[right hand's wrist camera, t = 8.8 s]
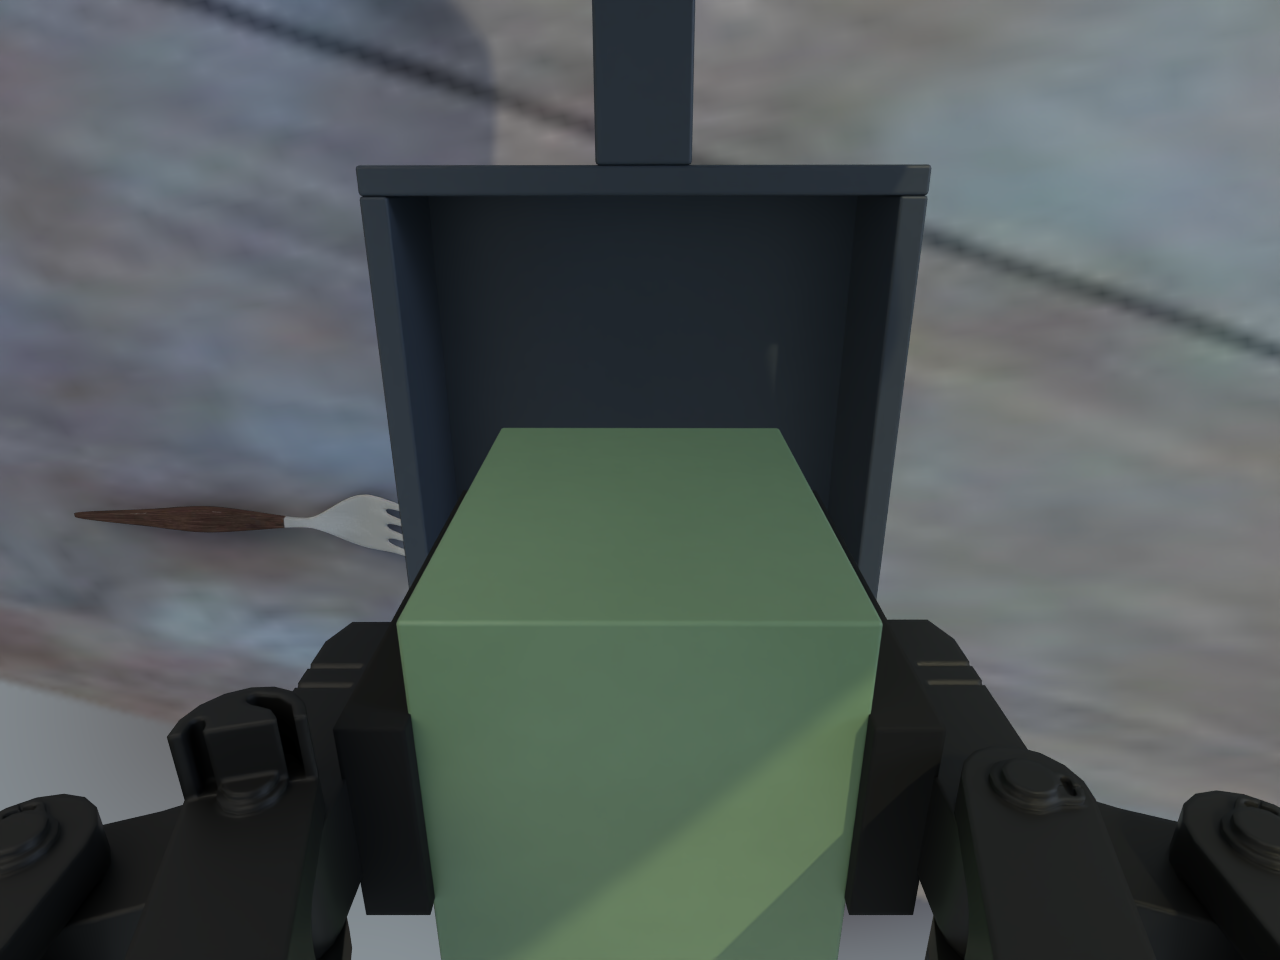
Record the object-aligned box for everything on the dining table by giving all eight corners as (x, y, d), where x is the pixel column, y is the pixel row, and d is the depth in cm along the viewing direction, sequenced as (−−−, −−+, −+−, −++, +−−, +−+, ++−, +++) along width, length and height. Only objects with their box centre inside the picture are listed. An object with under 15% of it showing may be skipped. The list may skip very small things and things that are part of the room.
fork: (75, 482, 34) (42, 500, 32) (443, 496, 34) (432, 514, 32) (89, 536, 35) (57, 557, 33) (447, 549, 35) (435, 570, 33)
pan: (834, 580, 24) (870, 654, 21) (450, 580, 24) (416, 655, 21) (953, -560, 15) (1056, -802, 11) (332, -559, 15) (231, -800, 11)
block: (779, 427, 14) (884, 622, 8) (762, 661, 16) (838, 966, 10) (501, 427, 14) (393, 622, 8) (517, 661, 16) (440, 964, 10)
